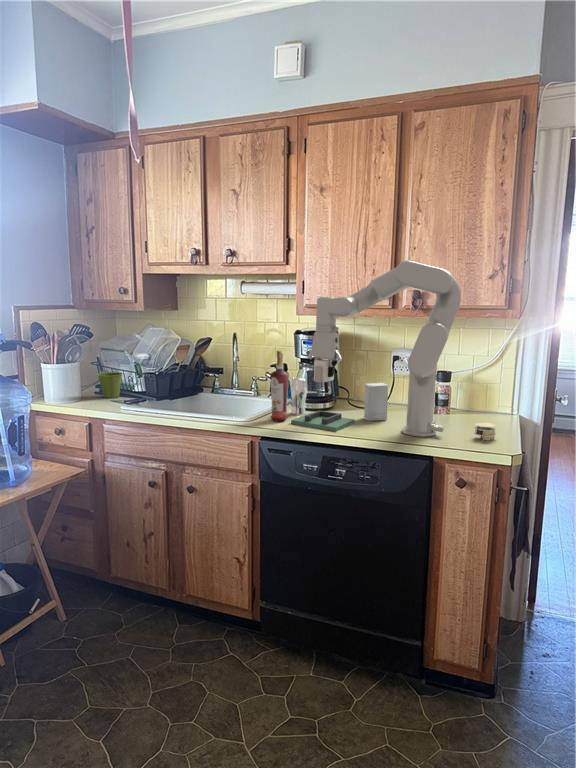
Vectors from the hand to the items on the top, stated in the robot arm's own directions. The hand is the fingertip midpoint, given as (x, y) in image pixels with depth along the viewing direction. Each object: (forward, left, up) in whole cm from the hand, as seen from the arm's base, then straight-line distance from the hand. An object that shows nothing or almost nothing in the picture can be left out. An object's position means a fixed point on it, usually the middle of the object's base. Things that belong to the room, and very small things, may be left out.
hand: (324, 375), depth 205 cm
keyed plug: (0, 0, -2) cm, 2 cm away
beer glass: (+17, -9, -19) cm, 27 cm away
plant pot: (+108, +15, -19) cm, 111 cm away
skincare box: (-14, -19, -20) cm, 31 cm away
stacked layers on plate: (-58, -16, -20) cm, 64 cm away
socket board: (0, 0, -19) cm, 19 cm away
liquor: (+17, +6, -19) cm, 26 cm away
